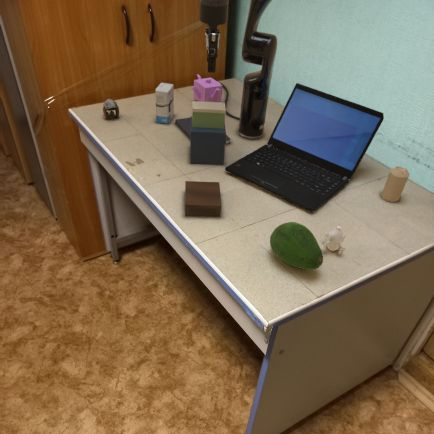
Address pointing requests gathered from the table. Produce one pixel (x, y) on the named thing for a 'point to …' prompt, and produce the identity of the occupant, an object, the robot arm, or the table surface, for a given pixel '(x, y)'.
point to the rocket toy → (334, 239)
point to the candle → (395, 184)
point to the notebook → (186, 126)
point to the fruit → (296, 246)
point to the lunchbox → (208, 114)
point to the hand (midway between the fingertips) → (210, 67)
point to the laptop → (311, 148)
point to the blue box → (207, 145)
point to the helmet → (110, 108)
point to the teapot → (207, 90)
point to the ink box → (164, 102)
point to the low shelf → (202, 199)
